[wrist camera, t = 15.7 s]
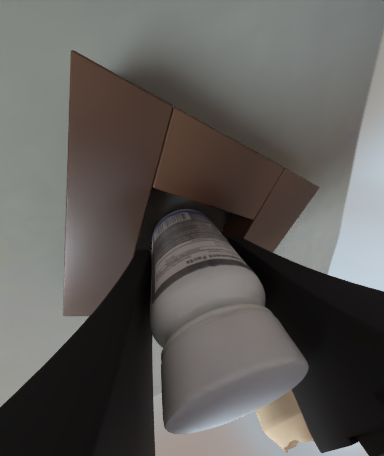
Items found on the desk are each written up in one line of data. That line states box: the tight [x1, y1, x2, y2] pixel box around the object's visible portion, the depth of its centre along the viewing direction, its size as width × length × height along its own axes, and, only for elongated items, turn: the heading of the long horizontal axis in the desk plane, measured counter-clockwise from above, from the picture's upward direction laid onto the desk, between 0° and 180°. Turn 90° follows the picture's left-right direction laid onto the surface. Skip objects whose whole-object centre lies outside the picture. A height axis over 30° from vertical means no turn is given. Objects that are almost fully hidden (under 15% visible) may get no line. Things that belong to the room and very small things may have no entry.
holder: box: [63, 51, 319, 316], centre depth 10 cm, size 13×13×2 cm
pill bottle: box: [150, 209, 309, 434], centre depth 7 cm, size 5×5×8 cm
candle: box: [256, 389, 314, 452], centre depth 18 cm, size 6×6×10 cm
